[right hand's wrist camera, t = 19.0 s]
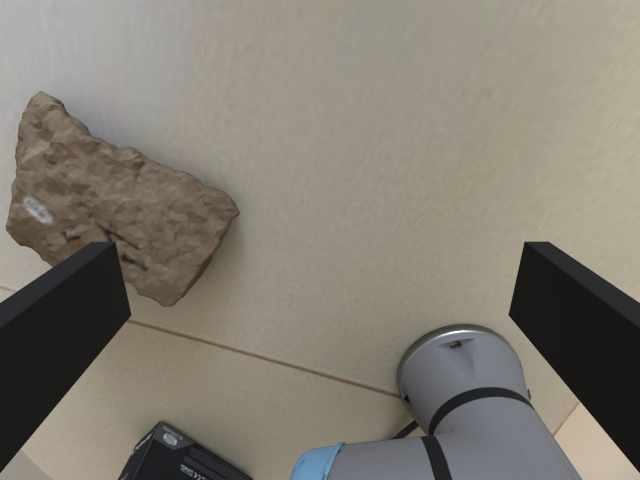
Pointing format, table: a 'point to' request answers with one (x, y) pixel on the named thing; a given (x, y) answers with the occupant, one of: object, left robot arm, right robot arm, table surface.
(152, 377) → the table surface
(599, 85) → the table surface
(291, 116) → the table surface
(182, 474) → the graphics card box
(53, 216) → the stone
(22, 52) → the table surface
